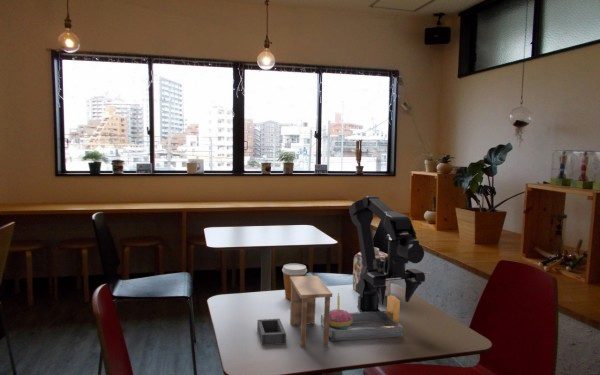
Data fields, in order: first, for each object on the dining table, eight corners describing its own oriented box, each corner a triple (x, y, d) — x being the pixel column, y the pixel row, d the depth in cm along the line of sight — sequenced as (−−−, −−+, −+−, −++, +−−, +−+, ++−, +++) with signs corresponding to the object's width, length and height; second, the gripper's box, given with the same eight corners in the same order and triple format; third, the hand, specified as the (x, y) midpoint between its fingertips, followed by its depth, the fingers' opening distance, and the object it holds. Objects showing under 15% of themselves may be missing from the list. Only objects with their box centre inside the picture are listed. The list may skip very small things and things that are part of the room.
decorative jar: (377, 286, 180) (379, 244, 179) (391, 296, 169) (393, 251, 168) (351, 288, 177) (353, 245, 175) (363, 298, 166) (365, 252, 164)
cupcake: (322, 327, 138) (323, 291, 136) (347, 326, 139) (349, 290, 138) (328, 339, 129) (330, 300, 128) (355, 338, 131) (357, 299, 129)
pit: (279, 327, 136) (279, 318, 136) (285, 343, 126) (285, 333, 125) (257, 329, 135) (257, 319, 134) (261, 345, 124) (262, 335, 124)
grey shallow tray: (386, 319, 145) (388, 291, 144) (403, 336, 132) (405, 305, 132) (320, 323, 140) (321, 294, 139) (332, 340, 128) (333, 309, 127)
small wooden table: (315, 321, 142) (317, 275, 141) (330, 345, 125) (332, 293, 124) (288, 323, 140) (289, 276, 139) (299, 347, 123) (301, 294, 122)
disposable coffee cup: (287, 303, 158) (289, 271, 157) (277, 295, 166) (278, 264, 165) (310, 299, 162) (311, 268, 161) (299, 291, 171) (300, 262, 169)
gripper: (407, 248, 147) (405, 292, 148) (358, 250, 141) (356, 297, 142) (427, 256, 136) (424, 303, 138) (375, 259, 130) (373, 309, 132)
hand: (394, 303), depth 138 cm, fingers open, 9 cm apart
